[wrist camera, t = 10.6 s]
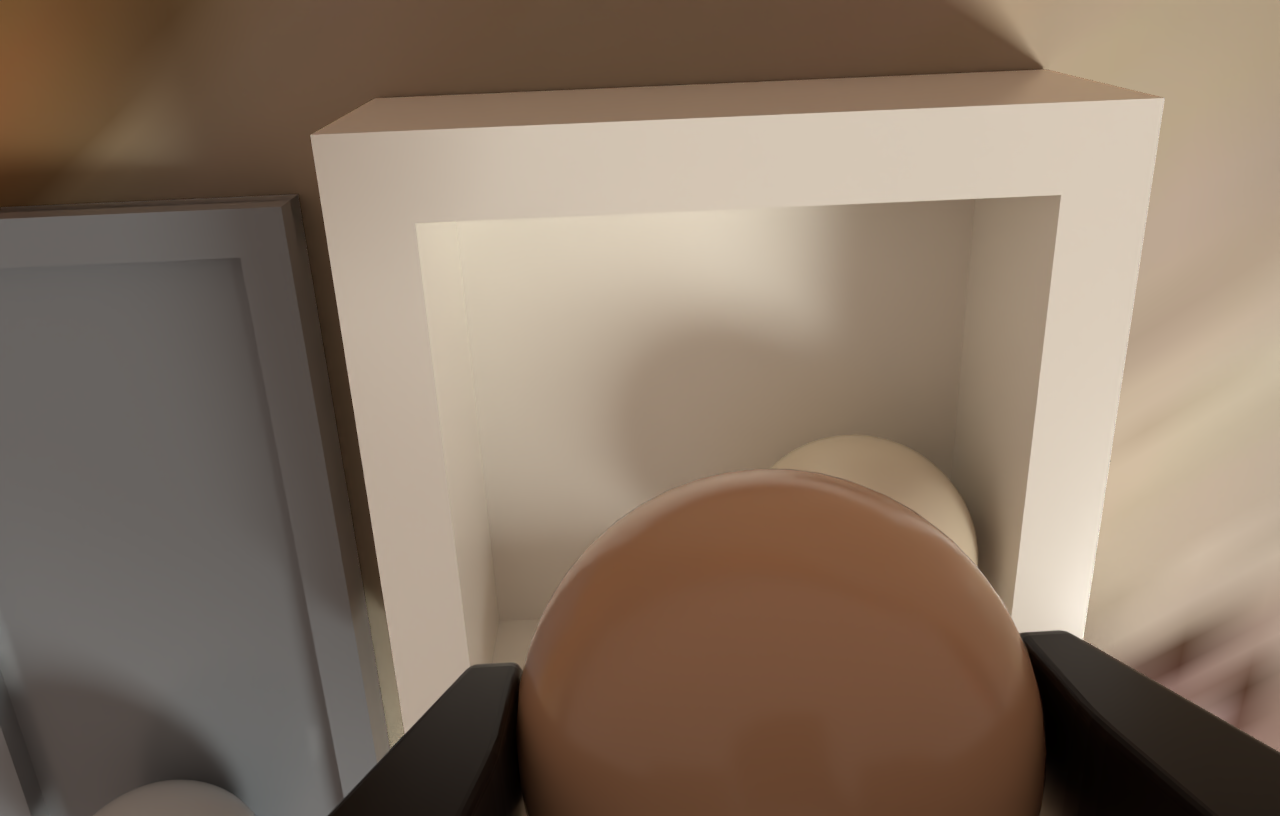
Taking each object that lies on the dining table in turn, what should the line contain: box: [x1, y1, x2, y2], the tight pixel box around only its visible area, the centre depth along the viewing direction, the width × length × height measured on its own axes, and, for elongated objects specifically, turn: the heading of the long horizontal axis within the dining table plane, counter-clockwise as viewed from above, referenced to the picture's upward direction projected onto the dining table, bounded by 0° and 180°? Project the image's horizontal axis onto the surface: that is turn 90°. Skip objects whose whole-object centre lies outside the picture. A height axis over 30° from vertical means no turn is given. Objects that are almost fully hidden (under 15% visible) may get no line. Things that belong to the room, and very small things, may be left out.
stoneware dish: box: [310, 69, 1165, 733], centre depth 17 cm, size 11×11×4 cm
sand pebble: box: [770, 434, 979, 567], centre depth 18 cm, size 4×4×4 cm
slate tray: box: [0, 194, 390, 816], centre depth 20 cm, size 16×8×1 cm, turn 2°
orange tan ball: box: [516, 469, 1047, 816], centre depth 8 cm, size 4×4×4 cm
